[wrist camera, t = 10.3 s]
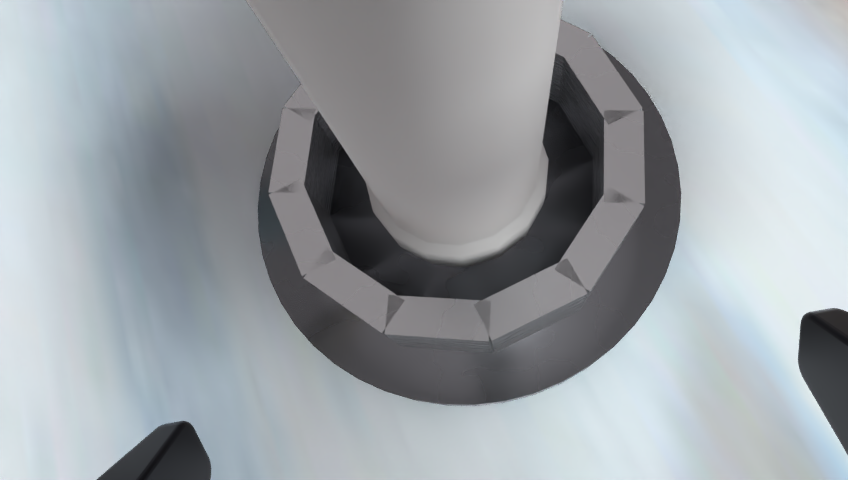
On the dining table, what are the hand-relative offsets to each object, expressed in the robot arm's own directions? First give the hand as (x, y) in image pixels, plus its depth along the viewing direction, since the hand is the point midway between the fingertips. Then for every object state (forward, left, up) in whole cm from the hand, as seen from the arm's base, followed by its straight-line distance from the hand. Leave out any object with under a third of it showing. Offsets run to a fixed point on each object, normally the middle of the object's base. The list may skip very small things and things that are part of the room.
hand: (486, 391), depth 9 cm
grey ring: (+5, -5, -9) cm, 11 cm away
